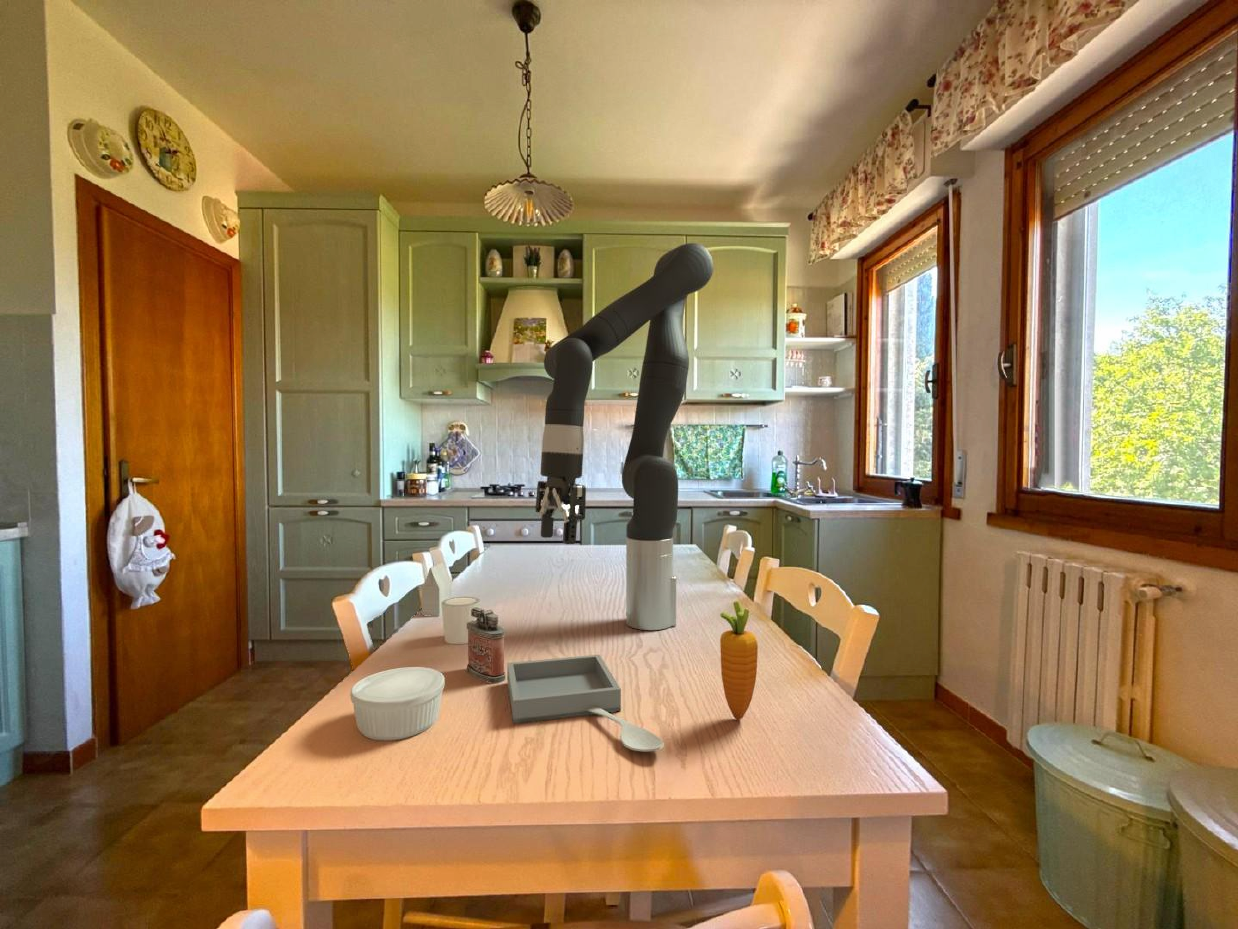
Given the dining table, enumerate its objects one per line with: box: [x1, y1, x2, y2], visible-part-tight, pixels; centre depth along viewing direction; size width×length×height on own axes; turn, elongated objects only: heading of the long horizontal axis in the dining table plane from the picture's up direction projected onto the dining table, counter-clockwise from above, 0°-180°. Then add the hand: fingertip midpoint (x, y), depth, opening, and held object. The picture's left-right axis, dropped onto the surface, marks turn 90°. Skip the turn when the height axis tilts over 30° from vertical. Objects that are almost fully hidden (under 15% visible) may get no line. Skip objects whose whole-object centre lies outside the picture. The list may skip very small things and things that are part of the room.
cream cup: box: [441, 596, 481, 645], centre depth 104 cm, size 7×7×7 cm
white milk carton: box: [421, 561, 453, 617], centre depth 121 cm, size 4×7×10 cm, turn 175°
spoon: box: [587, 707, 665, 752], centre depth 72 cm, size 4×21×2 cm, turn 36°
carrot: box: [719, 601, 759, 721], centre depth 73 cm, size 5×5×15 cm
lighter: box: [466, 607, 506, 684], centre depth 87 cm, size 8×3×10 cm, turn 47°
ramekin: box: [350, 666, 446, 742], centre depth 72 cm, size 11×11×5 cm
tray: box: [506, 654, 622, 725], centre depth 80 cm, size 14×13×3 cm
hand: (557, 540), depth 103 cm, fingers open, 8 cm apart
